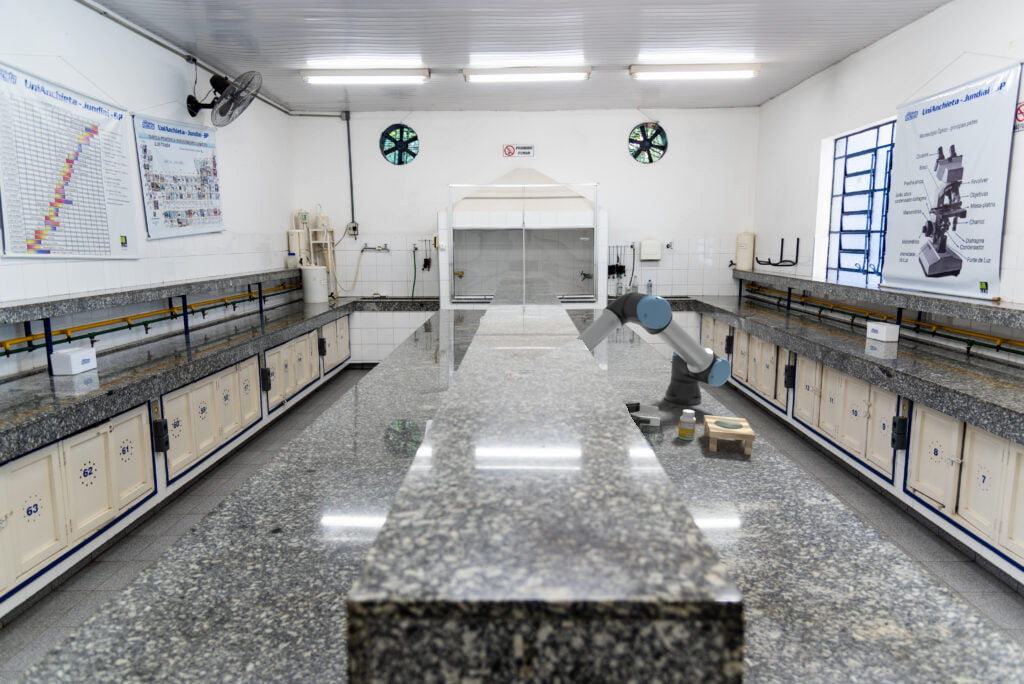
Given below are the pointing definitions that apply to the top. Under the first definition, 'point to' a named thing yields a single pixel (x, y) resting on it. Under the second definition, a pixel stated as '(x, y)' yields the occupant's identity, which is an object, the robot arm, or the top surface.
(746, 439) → the footstool
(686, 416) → the supplement bottle
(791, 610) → the top surface
